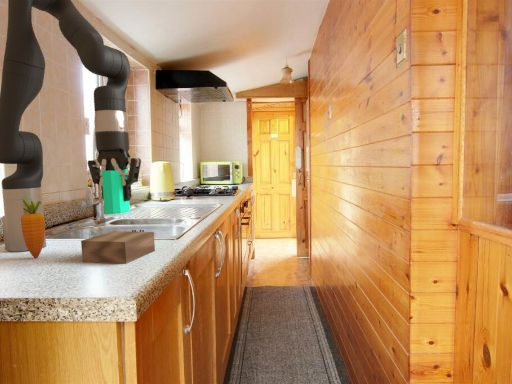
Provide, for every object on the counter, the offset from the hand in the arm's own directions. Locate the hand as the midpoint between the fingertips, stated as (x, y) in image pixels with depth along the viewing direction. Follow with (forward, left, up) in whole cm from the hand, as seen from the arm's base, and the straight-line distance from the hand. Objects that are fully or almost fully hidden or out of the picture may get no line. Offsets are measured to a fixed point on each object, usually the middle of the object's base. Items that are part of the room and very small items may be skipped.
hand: (116, 200), depth 85 cm
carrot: (-21, -5, -14) cm, 26 cm away
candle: (0, 0, -3) cm, 3 cm away
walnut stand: (0, 0, -14) cm, 14 cm away
